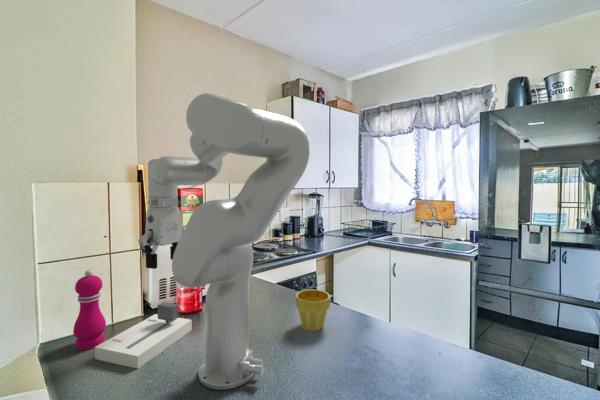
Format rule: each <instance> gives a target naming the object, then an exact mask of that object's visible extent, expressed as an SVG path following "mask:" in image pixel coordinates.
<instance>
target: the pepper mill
mask: <svg viewBox="0 0 600 400" xmlns="http://www.w3.org/2000/svg"><path fill="white" fill-rule="evenodd" d="M102 288H103V280H102V279H101V277H100V276H98V275H96V274H95V275H94V273H93V270H91V269H88V270H85V272H84V276H82V277H80V278H79V279H78V280H77V281H76V283H75V285H74V290H75V293H77V295H78V296H77V302H78V303H79V312H78V315H77V318H76V320H75V322H74V324H73V331H72V332H73V336H74V337H76V340H75V348H76V349H77V350H80V351H86V350H91V349H95V347H96V346H98V345H100V344H101V343H103V342H105V333H104V331H105V330H106V328H107V321H106V318H105V316H104V315H103V312H102V311H101V309H100V303H99V301H100V299H101V298H102V297H101V294H102V293H101V292H100V291H101V290H102Z"/></svg>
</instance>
